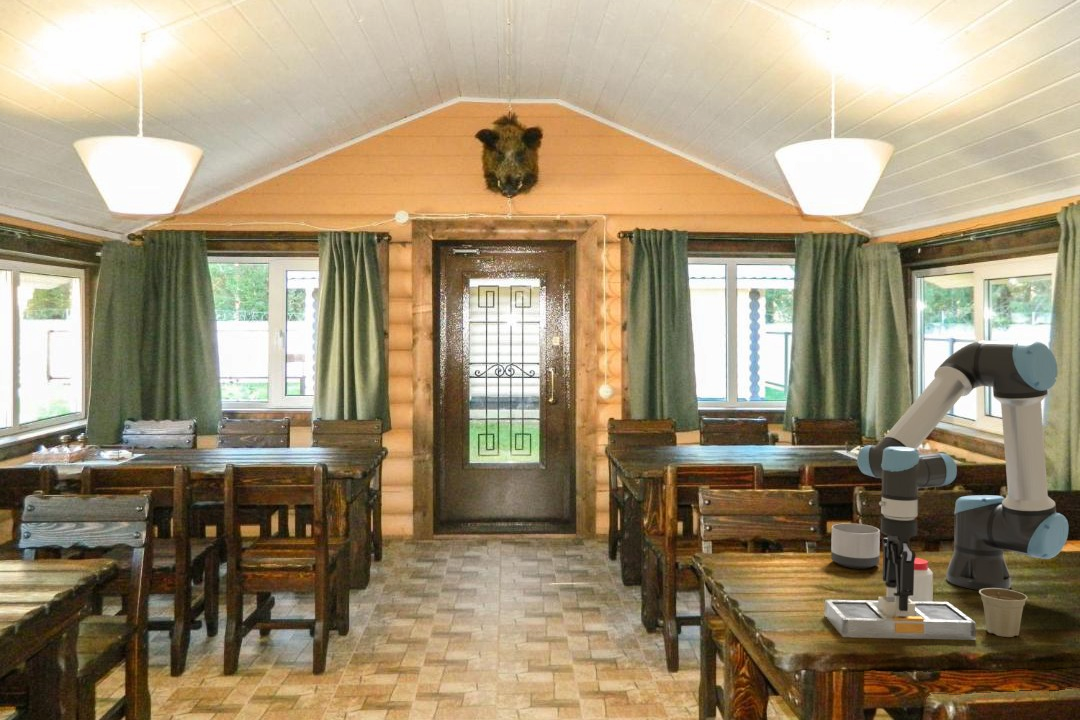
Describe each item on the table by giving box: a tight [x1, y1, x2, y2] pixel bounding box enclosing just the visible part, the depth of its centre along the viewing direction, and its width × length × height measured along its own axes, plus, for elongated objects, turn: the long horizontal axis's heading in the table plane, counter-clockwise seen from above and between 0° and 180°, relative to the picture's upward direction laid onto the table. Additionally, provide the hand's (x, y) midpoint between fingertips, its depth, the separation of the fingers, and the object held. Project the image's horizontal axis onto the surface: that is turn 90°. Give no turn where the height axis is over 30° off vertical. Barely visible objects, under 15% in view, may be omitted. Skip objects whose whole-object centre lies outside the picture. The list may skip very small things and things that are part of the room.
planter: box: [830, 522, 881, 570], centre depth 242 cm, size 13×13×10 cm
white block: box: [877, 596, 915, 619], centre depth 190 cm, size 6×4×5 cm
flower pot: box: [978, 588, 1028, 638], centre depth 187 cm, size 9×9×9 cm
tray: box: [824, 599, 977, 641], centre depth 190 cm, size 28×14×4 cm, turn 87°
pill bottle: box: [909, 557, 934, 602], centre depth 206 cm, size 8×8×11 cm
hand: (896, 619), depth 190 cm, fingers closed on white block, 4 cm apart
